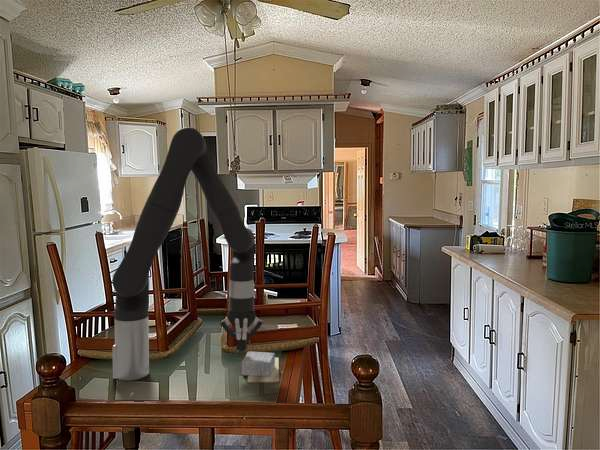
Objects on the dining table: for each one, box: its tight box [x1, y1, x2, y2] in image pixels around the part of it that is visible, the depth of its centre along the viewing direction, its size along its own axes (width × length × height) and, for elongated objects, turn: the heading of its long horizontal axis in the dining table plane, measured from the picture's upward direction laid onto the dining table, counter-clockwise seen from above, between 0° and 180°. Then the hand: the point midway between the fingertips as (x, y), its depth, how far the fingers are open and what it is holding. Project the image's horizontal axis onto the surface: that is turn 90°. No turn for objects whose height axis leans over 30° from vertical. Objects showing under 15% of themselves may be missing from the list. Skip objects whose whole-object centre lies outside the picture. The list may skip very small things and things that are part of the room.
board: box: [246, 357, 280, 384], centre depth 134 cm, size 9×18×1 cm, turn 4°
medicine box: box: [241, 351, 276, 377], centre depth 132 cm, size 8×4×9 cm
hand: (241, 350), depth 133 cm, fingers closed
